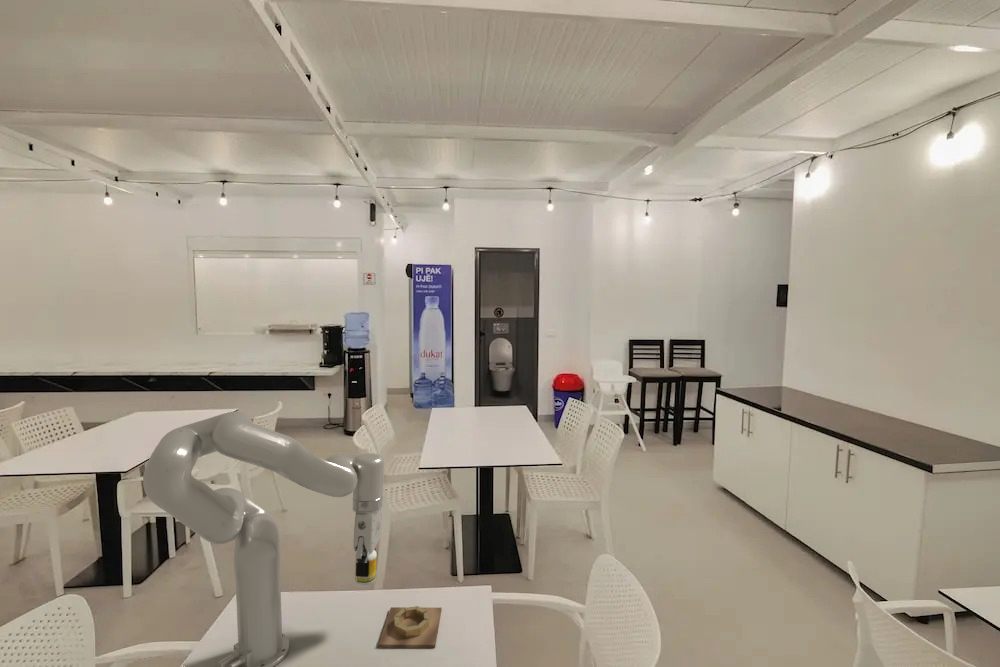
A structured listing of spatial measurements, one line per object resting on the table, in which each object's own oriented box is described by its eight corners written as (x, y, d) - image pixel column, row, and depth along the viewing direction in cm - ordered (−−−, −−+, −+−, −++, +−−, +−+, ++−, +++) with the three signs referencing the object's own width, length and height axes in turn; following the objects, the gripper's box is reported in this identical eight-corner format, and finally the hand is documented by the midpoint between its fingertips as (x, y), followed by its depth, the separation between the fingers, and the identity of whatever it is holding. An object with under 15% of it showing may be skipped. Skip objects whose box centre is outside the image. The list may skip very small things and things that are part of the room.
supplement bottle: (351, 578, 127) (352, 543, 126) (370, 571, 130) (371, 537, 130) (360, 588, 123) (361, 552, 122) (379, 581, 126) (380, 546, 126)
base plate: (378, 647, 119) (378, 644, 119) (390, 610, 133) (390, 607, 133) (435, 647, 119) (435, 644, 119) (441, 610, 133) (441, 607, 133)
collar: (413, 641, 120) (413, 634, 120) (387, 628, 124) (387, 621, 124) (435, 621, 127) (435, 614, 127) (410, 609, 132) (410, 602, 132)
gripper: (373, 517, 117) (370, 589, 118) (389, 490, 134) (387, 553, 135) (342, 516, 117) (340, 588, 118) (363, 488, 134) (361, 551, 135)
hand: (365, 568), depth 126 cm, fingers closed on supplement bottle, 5 cm apart
